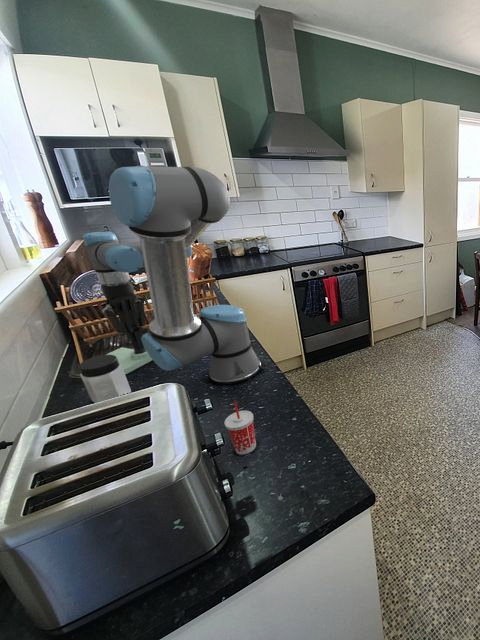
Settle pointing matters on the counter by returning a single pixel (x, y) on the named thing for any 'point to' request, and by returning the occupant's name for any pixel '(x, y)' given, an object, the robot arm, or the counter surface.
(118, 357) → the scale
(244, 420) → the beverage cup
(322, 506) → the counter surface
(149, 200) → the robot arm
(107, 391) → the jar
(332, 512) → the counter surface
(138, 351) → the tare button
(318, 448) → the counter surface
